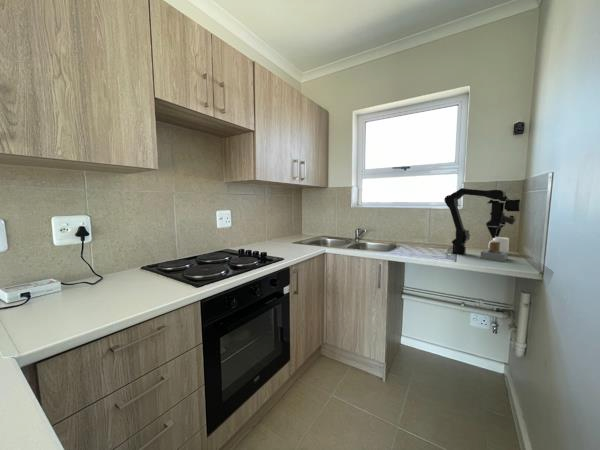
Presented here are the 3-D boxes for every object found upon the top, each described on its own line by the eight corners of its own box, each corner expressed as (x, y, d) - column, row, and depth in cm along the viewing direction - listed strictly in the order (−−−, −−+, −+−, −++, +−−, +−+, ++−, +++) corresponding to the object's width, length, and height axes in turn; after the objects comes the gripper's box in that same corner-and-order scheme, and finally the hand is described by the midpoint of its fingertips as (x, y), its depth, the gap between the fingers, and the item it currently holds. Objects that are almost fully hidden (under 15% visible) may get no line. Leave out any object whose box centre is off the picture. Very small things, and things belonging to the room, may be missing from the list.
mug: (492, 254, 157) (493, 239, 156) (483, 252, 165) (484, 237, 164) (511, 254, 157) (512, 238, 156) (501, 252, 165) (502, 237, 164)
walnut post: (489, 258, 147) (490, 242, 146) (490, 257, 150) (491, 241, 149) (497, 259, 144) (498, 243, 143) (498, 258, 147) (500, 242, 146)
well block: (480, 258, 148) (480, 251, 147) (485, 255, 155) (485, 249, 155) (503, 261, 139) (504, 254, 139) (507, 258, 147) (508, 252, 146)
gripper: (512, 212, 132) (509, 240, 134) (518, 210, 144) (516, 237, 146) (486, 211, 141) (485, 238, 142) (494, 210, 153) (492, 235, 154)
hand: (495, 237), depth 146 cm, fingers open, 9 cm apart
